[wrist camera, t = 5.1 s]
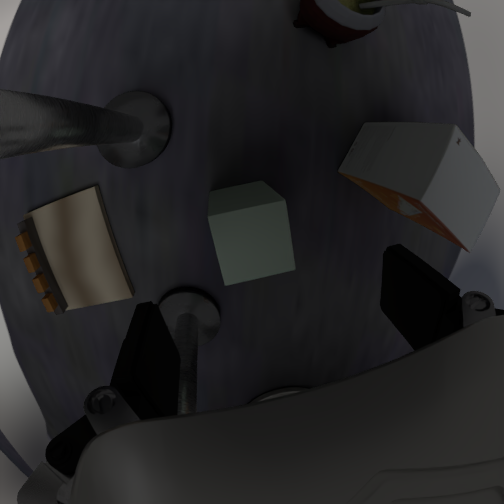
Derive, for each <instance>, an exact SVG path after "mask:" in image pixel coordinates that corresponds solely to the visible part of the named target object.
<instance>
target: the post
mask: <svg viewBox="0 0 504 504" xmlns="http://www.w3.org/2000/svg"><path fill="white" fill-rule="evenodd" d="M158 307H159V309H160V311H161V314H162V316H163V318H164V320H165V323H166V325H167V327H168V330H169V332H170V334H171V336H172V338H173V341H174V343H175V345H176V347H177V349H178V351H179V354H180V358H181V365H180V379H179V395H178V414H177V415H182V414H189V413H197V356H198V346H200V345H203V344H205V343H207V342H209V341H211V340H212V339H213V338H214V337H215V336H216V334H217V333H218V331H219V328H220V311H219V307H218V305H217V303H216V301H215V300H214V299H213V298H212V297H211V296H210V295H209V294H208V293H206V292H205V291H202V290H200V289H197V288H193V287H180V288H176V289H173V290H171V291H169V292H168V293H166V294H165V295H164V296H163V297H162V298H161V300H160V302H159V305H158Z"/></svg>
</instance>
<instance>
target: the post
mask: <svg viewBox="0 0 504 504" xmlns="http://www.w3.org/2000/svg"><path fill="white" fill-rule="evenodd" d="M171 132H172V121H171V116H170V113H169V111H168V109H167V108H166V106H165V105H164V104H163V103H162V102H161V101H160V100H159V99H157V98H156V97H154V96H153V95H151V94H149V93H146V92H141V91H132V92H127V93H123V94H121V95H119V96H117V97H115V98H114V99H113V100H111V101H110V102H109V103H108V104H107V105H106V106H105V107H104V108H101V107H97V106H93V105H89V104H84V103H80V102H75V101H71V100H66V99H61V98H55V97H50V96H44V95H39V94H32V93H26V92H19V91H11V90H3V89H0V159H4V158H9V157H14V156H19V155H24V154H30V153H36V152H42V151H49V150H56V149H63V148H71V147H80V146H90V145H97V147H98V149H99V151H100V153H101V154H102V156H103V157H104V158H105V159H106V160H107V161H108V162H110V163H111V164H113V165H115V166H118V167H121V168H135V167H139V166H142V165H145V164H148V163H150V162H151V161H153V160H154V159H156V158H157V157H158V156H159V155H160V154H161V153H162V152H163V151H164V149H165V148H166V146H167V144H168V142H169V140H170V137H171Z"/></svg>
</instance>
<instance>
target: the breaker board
mask: <svg viewBox="0 0 504 504" xmlns="http://www.w3.org/2000/svg"><path fill="white" fill-rule="evenodd" d="M23 216H24V221H22V222H20V223H18V224H17V225H18V228H19V231H20V235H18V236H17V237H15V239H16V241H17V244H18V247H19V250H20V252H22V251H25V250H27V253H28V256H27V257H25V258H24V259H23V260H24V262H25V265H26V267H27V269H28V272H29V273H31V272H34V271H35V272H36V275H37V276H36V277H35V278H34V279H33V280H32V281H33V283H34V285H35V287H36V290H37V292H38V293H41V292H45V294H46V295H45V296H44V297H43V298H42V302H43V304H44V306H45V308H46V310H47V312H52V311H54V312H55V314H56V315H57V314H63V313H64V312H65V310H70V309H76V308H81V307H86V306H91V305H97V304H102V303H107V302H112V301H117V300H122V299H127V298H132V297H133V295H134V293H135V292H134V290H133V287H132V285H131V282H130V280H129V277H128V274H127V272H126V269H125V267H124V264H123V261H122V259H121V256H120V253H119V250H118V247H117V244H116V242H115V239H114V236H113V233H112V230H111V227H110V223H109V220H108V217H107V214H106V211H105V207H104V204H103V200H102V197H101V193H100V190H99V186H98V185H97V186H94V187H91V188H89V189H86V190H83V191H80V192H78V193H75V194H72V195H70V196H67V197H65V198H62V199H60V200H57V201H55V202H52V203H50V204H48V205H45V206H43V207H40V208H38V209H36V210H34V211H31V212H29V213H27V214H25V215H23Z"/></svg>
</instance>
